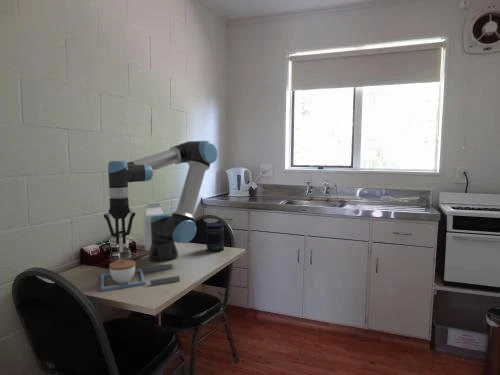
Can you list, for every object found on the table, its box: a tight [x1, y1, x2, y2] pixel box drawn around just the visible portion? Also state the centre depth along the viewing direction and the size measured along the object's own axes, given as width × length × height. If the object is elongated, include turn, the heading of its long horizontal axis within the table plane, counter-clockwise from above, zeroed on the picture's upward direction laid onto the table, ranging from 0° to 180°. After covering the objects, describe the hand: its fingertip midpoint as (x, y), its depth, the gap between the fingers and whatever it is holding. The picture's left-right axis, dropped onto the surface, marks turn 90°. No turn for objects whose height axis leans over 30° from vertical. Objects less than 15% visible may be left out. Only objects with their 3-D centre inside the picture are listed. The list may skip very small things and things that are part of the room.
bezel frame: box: [100, 268, 147, 292], centre depth 147 cm, size 17×17×2 cm
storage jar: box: [205, 221, 225, 253], centre depth 192 cm, size 10×10×15 cm
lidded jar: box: [108, 258, 136, 284], centre depth 147 cm, size 11×11×9 cm
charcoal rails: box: [145, 263, 181, 286], centre depth 153 cm, size 12×18×2 cm, turn 23°
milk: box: [143, 201, 164, 250], centre depth 201 cm, size 12×12×26 cm
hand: (121, 251), depth 146 cm, fingers closed
